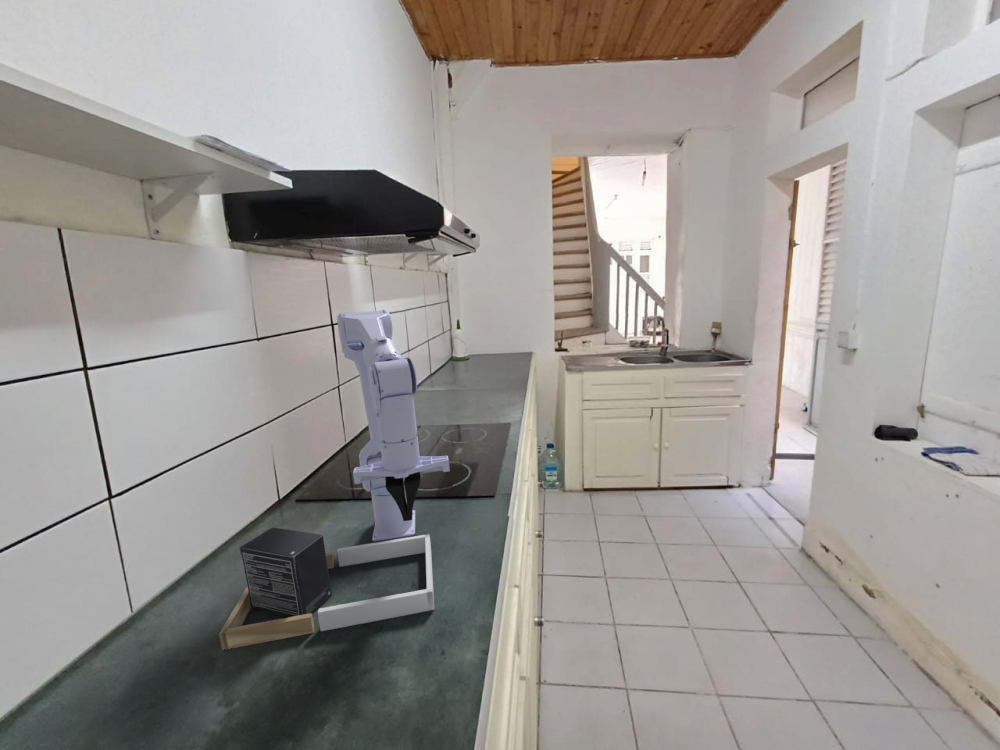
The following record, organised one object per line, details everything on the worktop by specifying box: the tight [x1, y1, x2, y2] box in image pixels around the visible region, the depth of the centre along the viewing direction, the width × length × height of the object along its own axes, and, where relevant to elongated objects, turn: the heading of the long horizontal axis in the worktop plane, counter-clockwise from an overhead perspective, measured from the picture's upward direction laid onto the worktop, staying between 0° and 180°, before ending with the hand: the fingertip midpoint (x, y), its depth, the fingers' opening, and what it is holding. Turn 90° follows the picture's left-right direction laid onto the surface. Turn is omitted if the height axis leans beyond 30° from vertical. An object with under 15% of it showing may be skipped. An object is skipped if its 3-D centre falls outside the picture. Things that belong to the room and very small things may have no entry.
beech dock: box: [218, 551, 335, 651], centre depth 65 cm, size 16×12×2 cm
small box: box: [239, 526, 332, 618], centre depth 65 cm, size 11×6×10 cm, turn 71°
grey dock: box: [317, 533, 435, 632], centre depth 68 cm, size 16×16×3 cm
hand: (408, 517), depth 68 cm, fingers closed
